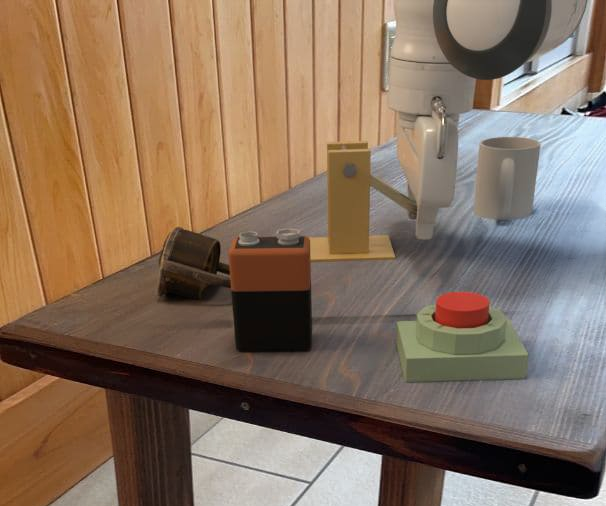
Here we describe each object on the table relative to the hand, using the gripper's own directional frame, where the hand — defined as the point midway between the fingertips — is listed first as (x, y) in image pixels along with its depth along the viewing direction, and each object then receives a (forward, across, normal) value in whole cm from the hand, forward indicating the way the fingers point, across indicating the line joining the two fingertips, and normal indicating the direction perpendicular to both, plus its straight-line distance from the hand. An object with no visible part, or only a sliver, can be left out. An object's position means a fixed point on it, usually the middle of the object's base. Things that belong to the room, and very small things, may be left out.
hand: (418, 227), depth 96 cm
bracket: (+3, 0, +8) cm, 9 cm away
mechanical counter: (+4, -13, +22) cm, 26 cm away
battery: (+4, -24, +16) cm, 29 cm away
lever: (-3, 0, +5) cm, 6 cm away
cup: (+3, +12, -12) cm, 17 cm away
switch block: (+3, -29, 0) cm, 29 cm away
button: (-1, -29, 0) cm, 29 cm away
